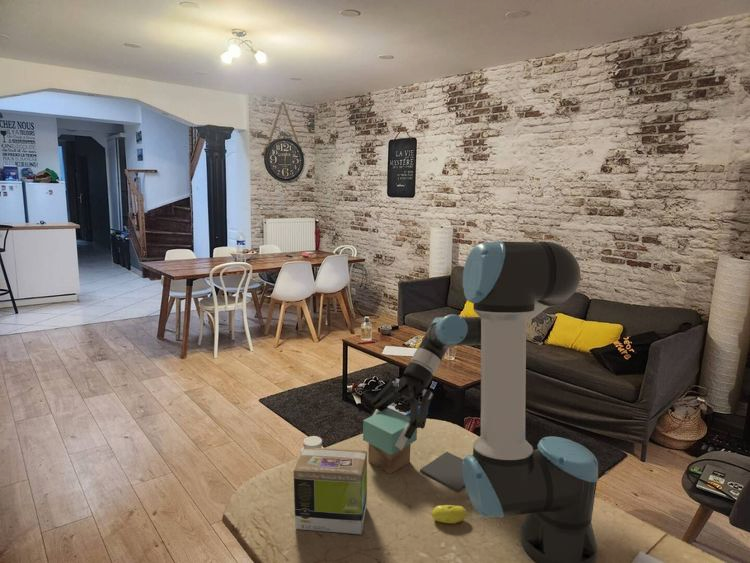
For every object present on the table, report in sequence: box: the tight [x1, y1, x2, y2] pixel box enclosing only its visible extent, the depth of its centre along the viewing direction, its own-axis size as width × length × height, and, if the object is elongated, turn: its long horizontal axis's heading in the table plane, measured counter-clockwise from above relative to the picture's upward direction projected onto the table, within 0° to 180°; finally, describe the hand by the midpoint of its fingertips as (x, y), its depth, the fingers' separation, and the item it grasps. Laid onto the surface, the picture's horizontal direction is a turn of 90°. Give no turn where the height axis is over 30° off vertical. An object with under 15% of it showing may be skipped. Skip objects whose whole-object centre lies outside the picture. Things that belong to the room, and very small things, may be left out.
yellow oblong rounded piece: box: [431, 504, 468, 525], centre depth 111 cm, size 4×8×4 cm, turn 87°
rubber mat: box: [419, 451, 466, 493], centre depth 130 cm, size 12×12×1 cm
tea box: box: [293, 447, 368, 535], centre depth 110 cm, size 15×10×15 cm
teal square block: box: [362, 407, 418, 455], centre depth 132 cm, size 10×10×6 cm
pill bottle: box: [299, 435, 324, 457], centre depth 124 cm, size 6×6×11 cm
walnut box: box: [367, 443, 412, 475], centre depth 133 cm, size 8×8×11 cm
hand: (382, 440), depth 130 cm, fingers closed on teal square block, 10 cm apart
